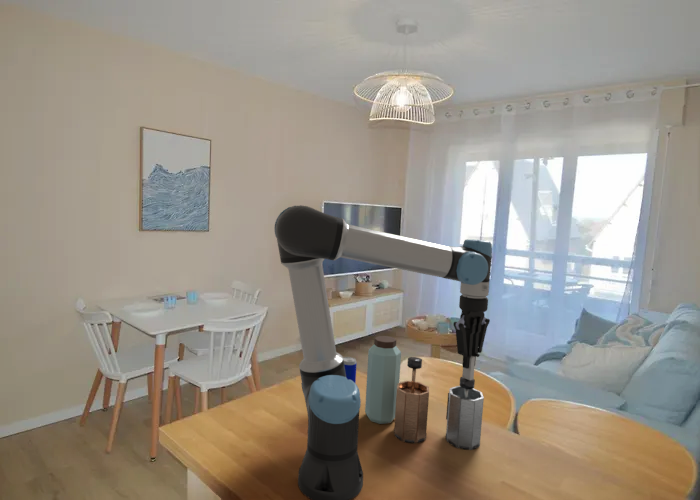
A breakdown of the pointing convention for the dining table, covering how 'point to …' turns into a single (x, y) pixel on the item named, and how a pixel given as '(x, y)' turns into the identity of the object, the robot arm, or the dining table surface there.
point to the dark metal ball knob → (466, 385)
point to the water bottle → (382, 379)
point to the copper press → (411, 413)
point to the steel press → (464, 418)
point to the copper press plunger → (414, 373)
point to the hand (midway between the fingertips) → (467, 378)
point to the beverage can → (350, 368)
